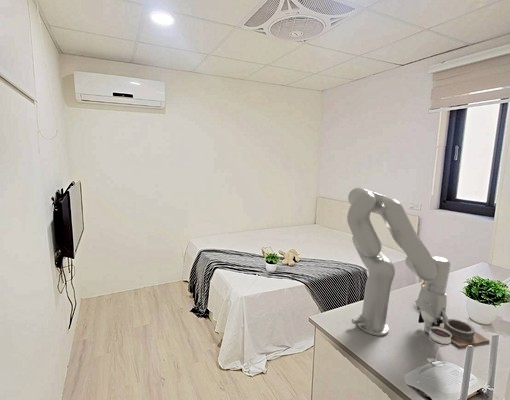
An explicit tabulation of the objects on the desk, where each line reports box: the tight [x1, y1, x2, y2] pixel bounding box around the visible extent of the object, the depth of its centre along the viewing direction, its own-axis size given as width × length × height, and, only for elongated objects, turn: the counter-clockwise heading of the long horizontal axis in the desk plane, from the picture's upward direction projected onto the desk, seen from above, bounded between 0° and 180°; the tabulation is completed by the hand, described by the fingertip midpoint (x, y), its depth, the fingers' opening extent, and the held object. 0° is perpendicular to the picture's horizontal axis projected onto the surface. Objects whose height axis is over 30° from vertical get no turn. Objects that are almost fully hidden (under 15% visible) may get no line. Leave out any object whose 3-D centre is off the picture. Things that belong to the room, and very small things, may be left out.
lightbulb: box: [421, 310, 438, 334], centre depth 122 cm, size 6×6×11 cm
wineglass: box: [426, 326, 452, 364], centre depth 104 cm, size 7×7×12 cm
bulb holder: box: [440, 318, 491, 349], centre depth 122 cm, size 16×14×4 cm
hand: (428, 326), depth 122 cm, fingers closed on lightbulb, 5 cm apart
